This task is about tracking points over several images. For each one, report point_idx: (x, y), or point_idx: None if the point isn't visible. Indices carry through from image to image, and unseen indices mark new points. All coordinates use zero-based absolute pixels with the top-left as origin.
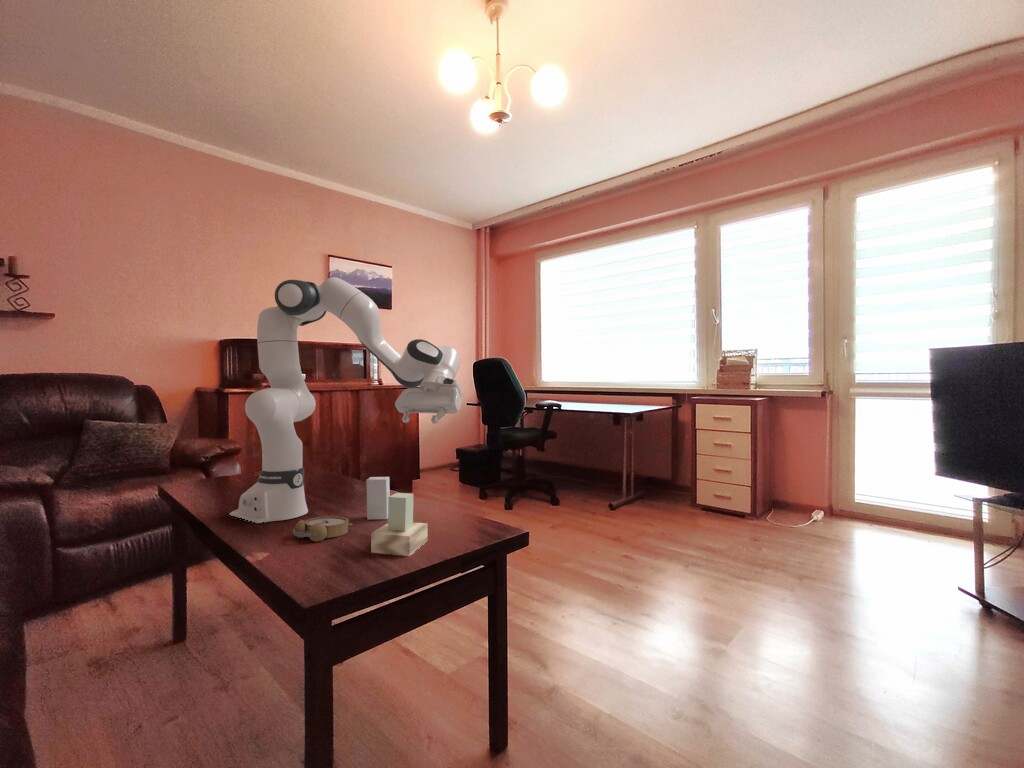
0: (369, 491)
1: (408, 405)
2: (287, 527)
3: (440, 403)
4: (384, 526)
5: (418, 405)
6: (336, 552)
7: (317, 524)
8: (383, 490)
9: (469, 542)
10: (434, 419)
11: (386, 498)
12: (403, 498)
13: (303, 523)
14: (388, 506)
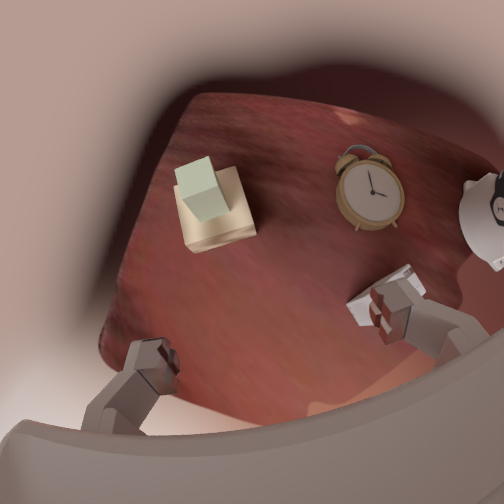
0: (392, 273)
1: (466, 352)
2: (429, 190)
3: (81, 452)
4: (240, 194)
5: (356, 406)
6: (281, 158)
7: (348, 156)
8: (368, 292)
9: (139, 284)
10: (139, 341)
11: (357, 299)
12: (179, 168)
13: (374, 156)
14: (212, 165)
